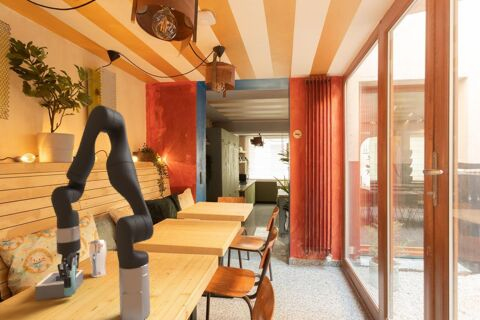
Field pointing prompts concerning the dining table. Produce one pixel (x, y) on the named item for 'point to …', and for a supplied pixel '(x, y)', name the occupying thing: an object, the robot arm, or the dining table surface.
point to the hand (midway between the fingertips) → (70, 284)
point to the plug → (73, 285)
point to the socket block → (55, 286)
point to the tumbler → (98, 257)
